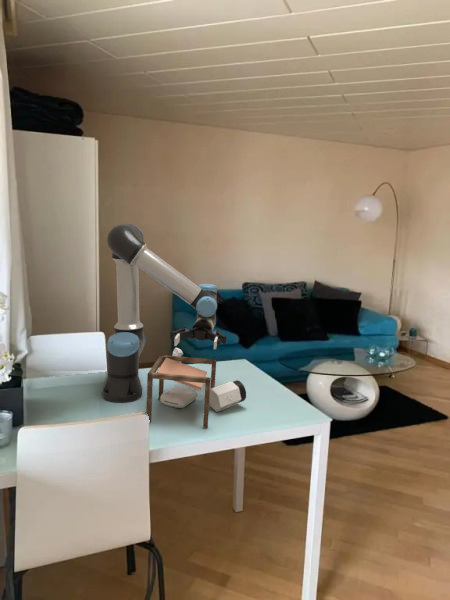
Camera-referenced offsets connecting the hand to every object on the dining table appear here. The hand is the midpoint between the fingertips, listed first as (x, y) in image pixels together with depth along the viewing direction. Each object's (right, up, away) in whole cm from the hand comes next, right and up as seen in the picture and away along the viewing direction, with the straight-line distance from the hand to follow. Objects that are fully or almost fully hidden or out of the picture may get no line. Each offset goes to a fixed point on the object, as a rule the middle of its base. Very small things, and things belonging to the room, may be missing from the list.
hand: (195, 343), depth 165 cm
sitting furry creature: (-12, -18, +48) cm, 52 cm away
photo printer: (-5, -21, +23) cm, 31 cm away
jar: (+6, -22, +10) cm, 25 cm away
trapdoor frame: (-5, -25, +9) cm, 27 cm away
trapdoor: (-5, -11, +6) cm, 14 cm away
